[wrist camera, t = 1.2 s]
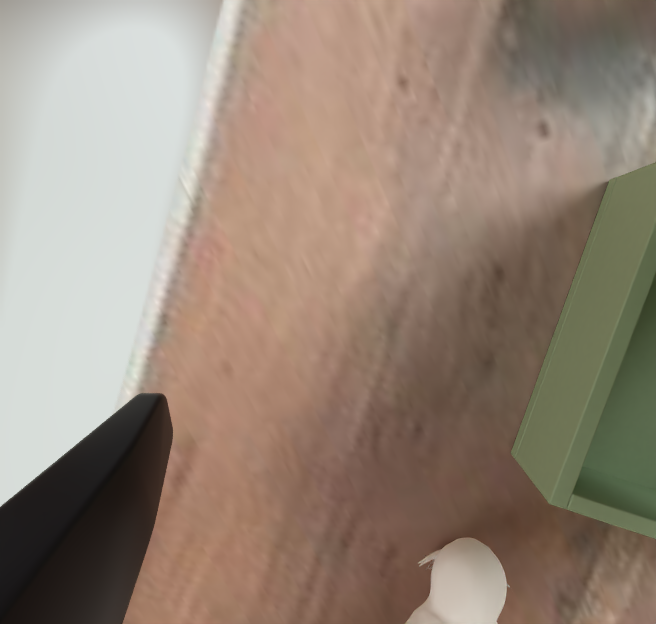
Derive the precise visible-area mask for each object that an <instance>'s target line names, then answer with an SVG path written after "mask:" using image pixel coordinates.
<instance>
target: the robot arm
mask: <svg viewBox="0 0 656 624" xmlns="http://www.w3.org/2000/svg"><path fill="white" fill-rule="evenodd" d="M172 439H173V427H172V422H171V417H170V413H169V408H168V403H167V399H166V397H165V395H163V394H161V393H141V394H138V395H137V396H135V397H134V398H133V399H132V400H130V401H129V402H128V403H127V404H125V405H124V406H123V407H122V408H121V409H119V410H118V411H117V412H116V413H114V414H113V415H112V416H111V417H110V418H108V419H107V420H106V421H105V422H103V423H102V424H101V425H100V426H99V427H97V428H96V429H95V430H94V431H92V433H90V434H89V435H88V436H86V437H85V438H84V439H83V440H81V441H80V442H79V443H78V444H77V445H75V446H74V447H73V448H72V449H70V450H69V451H68V452H67V453H66V454H64V455H63V456H62V457H61V458H59V459H58V460H57V461H56V462H55V463H53V464H52V465H51V466H50V467H48V468H47V469H46V470H45V471H44V472H42V473H41V474H40V475H39V476H37V477H36V478H35V479H34V480H33V481H31V482H30V483H29V484H28V485H26V486H25V487H24V488H23V489H22V490H20V491H19V492H18V493H17V494H15V495H14V496H13V497H12V498H10V499H9V500H8V501H7V502H6V503H4V504H3V505H2V506H1V507H0V624H122V623H123V620H124V617H125V614H126V611H127V608H128V605H129V602H130V599H131V596H132V593H133V590H134V587H135V584H136V581H137V578H138V575H139V572H140V569H141V566H142V563H143V560H144V557H145V554H146V550H147V547H148V544H149V541H150V538H151V535H152V531H153V528H154V524H155V520H156V516H157V511H158V506H159V502H160V497H161V492H162V487H163V483H164V478H165V473H166V468H167V464H168V459H169V454H170V449H171V445H172Z"/></svg>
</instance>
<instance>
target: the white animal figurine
mask: <svg viewBox="0 0 656 624" xmlns="http://www.w3.org/2000/svg"><path fill="white" fill-rule="evenodd" d="M430 554H431V555H429V556H427V557H425V558H424V559H423V560H421V561H420V562H418V563H422V562H423V563H422V564H421V565H423V564H425V563H427V562H429V561H431V560H432V559H433V560H434V559H435V561H432V562H434V564H433V568H432V567H431V568H432V572H431V590H430V594H429V596H428V598H427V600H426V601H425V602H424V603H423V604H422V605H421V606H419V607H418V608H417V609H416V610H414V612H413V613H412V615H411V616H410V618H409V619H408V620H407V622H406V623H405V624H498V623H497V622H496V621H497V619H498V617H499V615H500V613H501V611H502V609H503V606H504V603H505V599H506V592H507V586H508V587H509V585H508V584H507V583H506V576H505V572H504V570H503V567H502V565H501V563H500V561H499V559H498V558H497V557H496V555H495V554H494V553H493V552H492V550H491V549H490V548H489V547H488V546H486V545H485V544H483V543H481V542H480V541H478V540H476V539H474V538H468V537H466V538H459V539H456V540H455V541H453V542H451V543H450V544H447V545H445V546H444V547H443V548H442V549H441V550H438V551H435V552H433V554H432V553H430ZM425 556H426V555H425ZM424 561H425V562H424ZM421 565H420V566H421ZM420 566H419V567H420ZM428 567H429V566H428ZM428 567H427V568H428ZM431 568H430V569H431Z"/></svg>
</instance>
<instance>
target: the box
mask: <svg viewBox="0 0 656 624" xmlns="http://www.w3.org/2000/svg"><path fill="white" fill-rule="evenodd" d="M511 455H512V456H513V457H514V459H515V460H516V461H517V462H518V464H519V465H520V466H521V467H522V469H523V470H524V471H525V473H526V474H527V475H528V477H529V478H530V479H531V481H532V482H533V483H534V485H535V486H536V487H537V489H538V490H539V491H540V493H541V494H542V495H543V497H544V498H545V499H546V500H547V502H548V503H549V504H551V505H554V506H557V507H560V508H563V509H567V510H569V511H572V512H575V513H578V514H581V515H584V516H587V517H590V518H593V519H596V520H599V521H602V522H605V523H608V524H612V525H615V526H618V527H621V528H624V529H627V530H630V531H633V532H636V533H639V534H642V535H645V536H648V537H651V538H654V539H656V162H655V163H653V164H650V165H648V166H645V167H642V168H640V169H637V170H635V171H632V172H630V173H627V174H624V175H622V176H619V177H616V178H613V179H611V180H609V182H608V185H607V188H606V191H605V193H604V196H603V199H602V202H601V205H600V207H599V210H598V213H597V216H596V218H595V221H594V224H593V227H592V229H591V232H590V235H589V238H588V241H587V243H586V246H585V249H584V252H583V254H582V257H581V260H580V263H579V265H578V268H577V271H576V274H575V276H574V279H573V282H572V285H571V288H570V290H569V293H568V296H567V299H566V301H565V304H564V307H563V310H562V312H561V315H560V318H559V321H558V323H557V326H556V329H555V332H554V335H553V337H552V340H551V343H550V346H549V348H548V351H547V354H546V357H545V359H544V362H543V365H542V368H541V370H540V373H539V376H538V379H537V382H536V384H535V387H534V390H533V393H532V395H531V398H530V401H529V404H528V406H527V409H526V412H525V415H524V418H523V420H522V423H521V426H520V429H519V431H518V434H517V437H516V440H515V442H514V445H513V448H512V451H511Z"/></svg>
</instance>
